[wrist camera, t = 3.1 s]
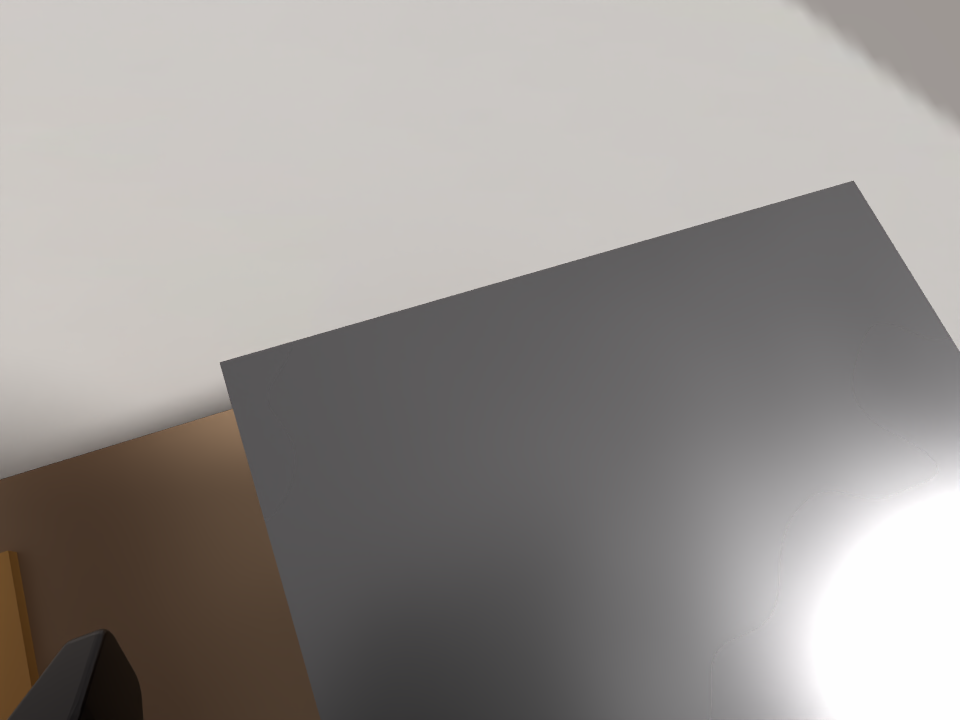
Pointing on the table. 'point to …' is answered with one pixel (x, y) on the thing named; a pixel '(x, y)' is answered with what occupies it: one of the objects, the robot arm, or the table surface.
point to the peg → (628, 486)
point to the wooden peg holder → (153, 576)
